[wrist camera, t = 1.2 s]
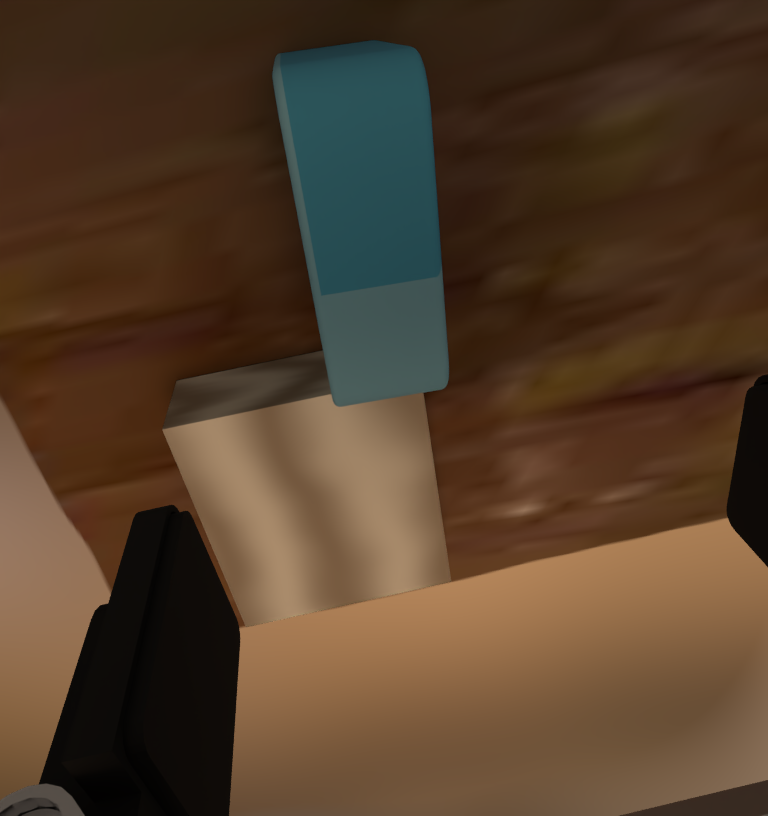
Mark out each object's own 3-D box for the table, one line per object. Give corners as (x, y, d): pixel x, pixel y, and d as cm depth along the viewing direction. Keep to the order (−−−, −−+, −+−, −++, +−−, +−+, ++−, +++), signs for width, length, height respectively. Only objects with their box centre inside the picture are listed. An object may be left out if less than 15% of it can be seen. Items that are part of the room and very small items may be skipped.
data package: (402, 291, 34) (452, 404, 24) (320, 305, 34) (336, 424, 24) (374, 38, 28) (428, 46, 18) (273, 52, 28) (269, 69, 18)
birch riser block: (404, 333, 36) (420, 375, 31) (434, 527, 44) (451, 581, 39) (176, 380, 35) (162, 429, 31) (249, 568, 43) (246, 627, 39)
